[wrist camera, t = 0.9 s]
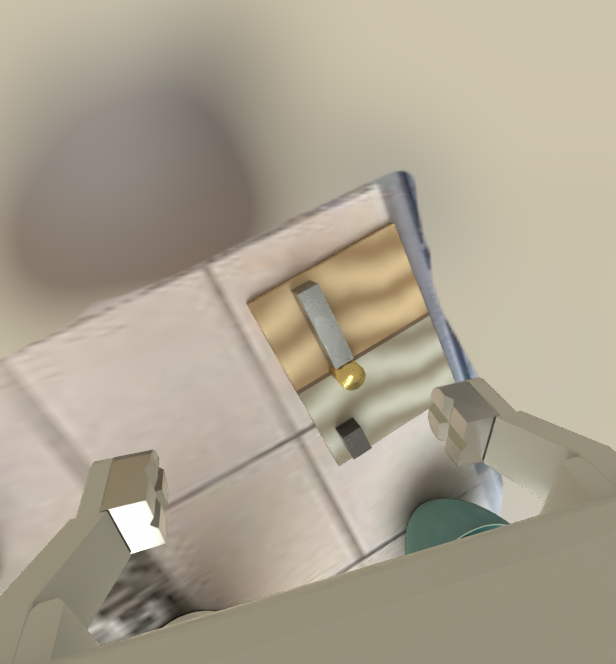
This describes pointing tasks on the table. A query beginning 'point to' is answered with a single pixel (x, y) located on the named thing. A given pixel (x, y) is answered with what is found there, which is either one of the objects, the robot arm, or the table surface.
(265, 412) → the table surface
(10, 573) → the table surface
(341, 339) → the latch bar
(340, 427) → the block
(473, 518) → the plant pot
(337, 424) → the door board
